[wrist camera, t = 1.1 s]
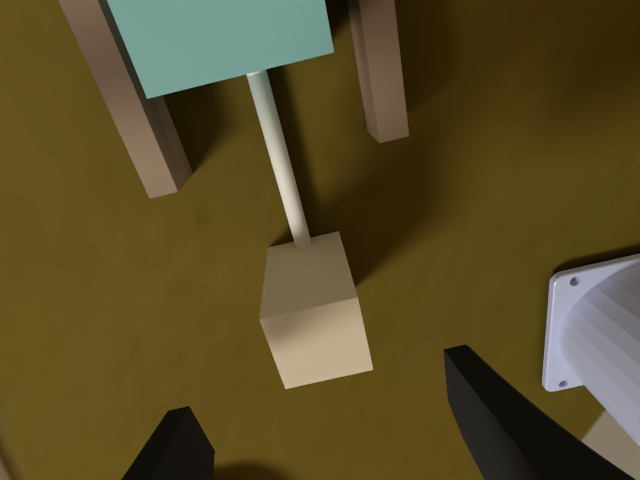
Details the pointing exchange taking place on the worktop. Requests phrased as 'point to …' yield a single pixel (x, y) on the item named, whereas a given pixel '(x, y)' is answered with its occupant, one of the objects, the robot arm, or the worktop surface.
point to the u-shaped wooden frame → (153, 115)
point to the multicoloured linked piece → (253, 59)
